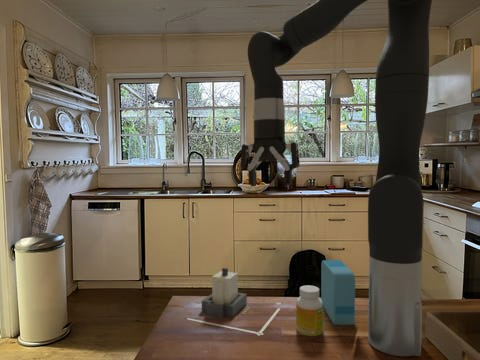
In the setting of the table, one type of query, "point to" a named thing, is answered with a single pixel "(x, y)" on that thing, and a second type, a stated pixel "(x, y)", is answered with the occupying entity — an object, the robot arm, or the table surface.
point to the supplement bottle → (309, 311)
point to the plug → (224, 287)
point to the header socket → (224, 306)
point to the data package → (338, 292)
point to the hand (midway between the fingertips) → (269, 186)
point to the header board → (241, 329)
